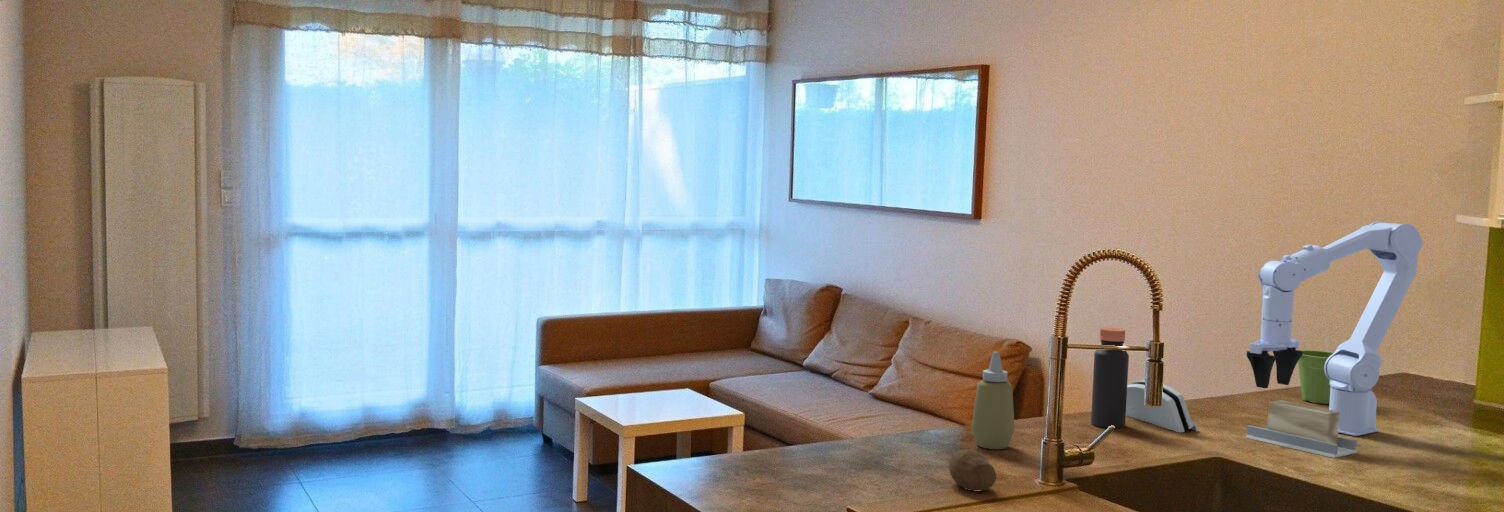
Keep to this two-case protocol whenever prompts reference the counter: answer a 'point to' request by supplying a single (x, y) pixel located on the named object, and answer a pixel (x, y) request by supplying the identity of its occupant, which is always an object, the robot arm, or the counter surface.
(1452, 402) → the counter surface
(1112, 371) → the dark grey water bottle
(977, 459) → the potato
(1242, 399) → the counter surface
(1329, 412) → the door panel
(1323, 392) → the plant pot
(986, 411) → the squeeze bottle
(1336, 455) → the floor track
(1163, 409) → the light blue curved block
